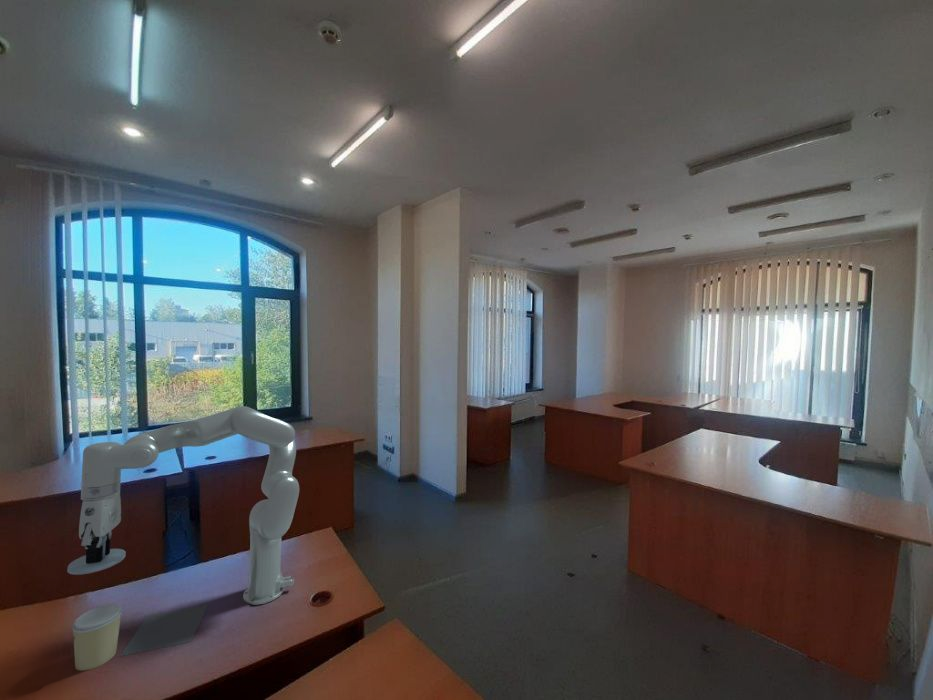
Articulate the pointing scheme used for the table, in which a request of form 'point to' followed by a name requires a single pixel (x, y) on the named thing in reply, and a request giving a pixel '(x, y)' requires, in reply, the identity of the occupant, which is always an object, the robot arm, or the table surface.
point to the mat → (166, 630)
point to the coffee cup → (96, 636)
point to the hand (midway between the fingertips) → (98, 558)
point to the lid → (108, 560)
